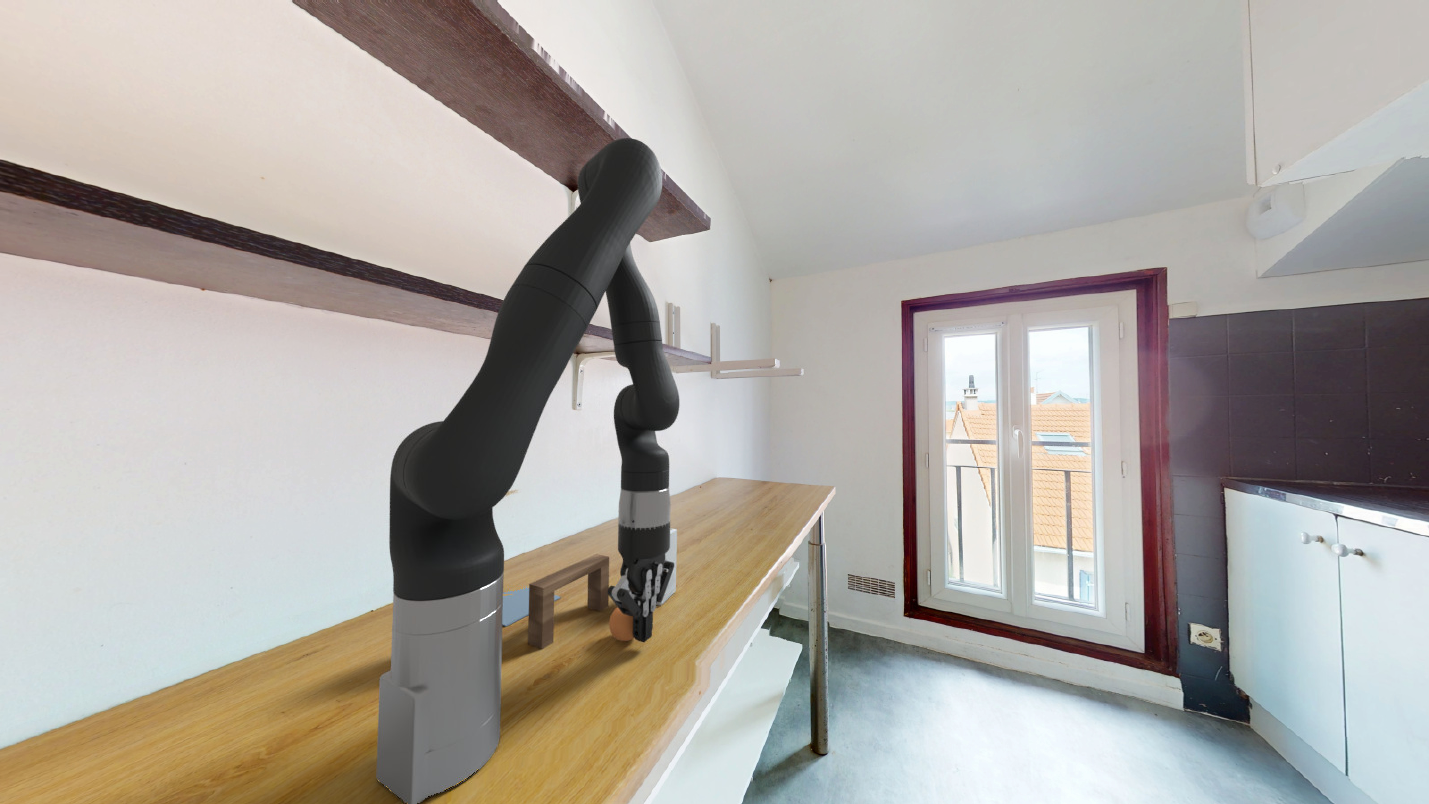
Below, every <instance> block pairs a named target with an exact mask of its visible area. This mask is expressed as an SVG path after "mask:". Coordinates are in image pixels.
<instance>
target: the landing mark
mask: <svg viewBox="0 0 1429 804" xmlns="http://www.w3.org/2000/svg"><path fill="white" fill-rule="evenodd" d="M527 587H528V586H526V588H525V589H524V588H523V590H522V589H520V590H517V591H516V590H515V591H514V592H513V591H510V592H509V591H508V592H507V593H506V592H505V591H503V594H513V595H507V596H503V617H502V627H508V626H510V625H512V624H514V623H516V622H518V621H520V620H522V619H524V618H526V617H527V616H529V588H527ZM561 598H562V597H561V596H559V595H556V594H554V602H556V601H557V600H560V599H561Z"/></svg>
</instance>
